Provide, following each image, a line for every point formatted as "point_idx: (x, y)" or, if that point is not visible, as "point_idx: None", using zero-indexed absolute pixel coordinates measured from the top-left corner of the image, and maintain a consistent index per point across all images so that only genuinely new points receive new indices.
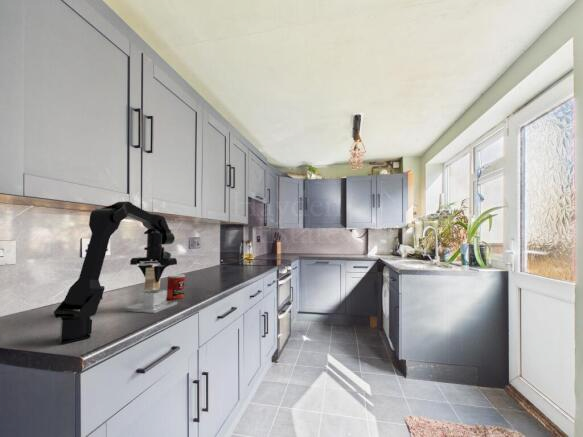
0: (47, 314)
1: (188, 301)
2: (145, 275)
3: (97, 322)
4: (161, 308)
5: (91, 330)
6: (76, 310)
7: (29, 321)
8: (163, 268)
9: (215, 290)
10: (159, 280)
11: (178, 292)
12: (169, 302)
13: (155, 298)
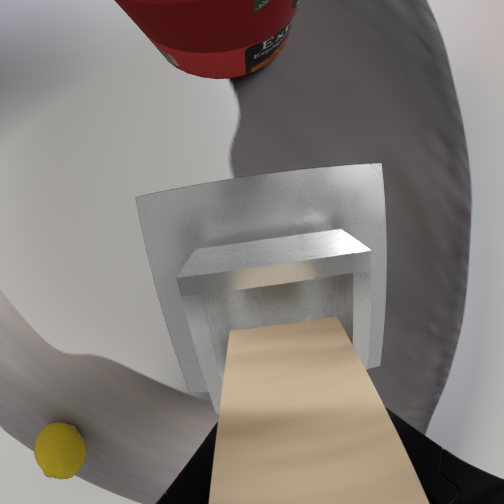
0: (39, 428)
1: (388, 83)
2: None
3: None
4: (381, 318)
5: None
6: (81, 436)
7: (83, 467)
8: (501, 501)
9: None
10: (365, 385)
11: (285, 32)
12: (354, 213)
13: None
